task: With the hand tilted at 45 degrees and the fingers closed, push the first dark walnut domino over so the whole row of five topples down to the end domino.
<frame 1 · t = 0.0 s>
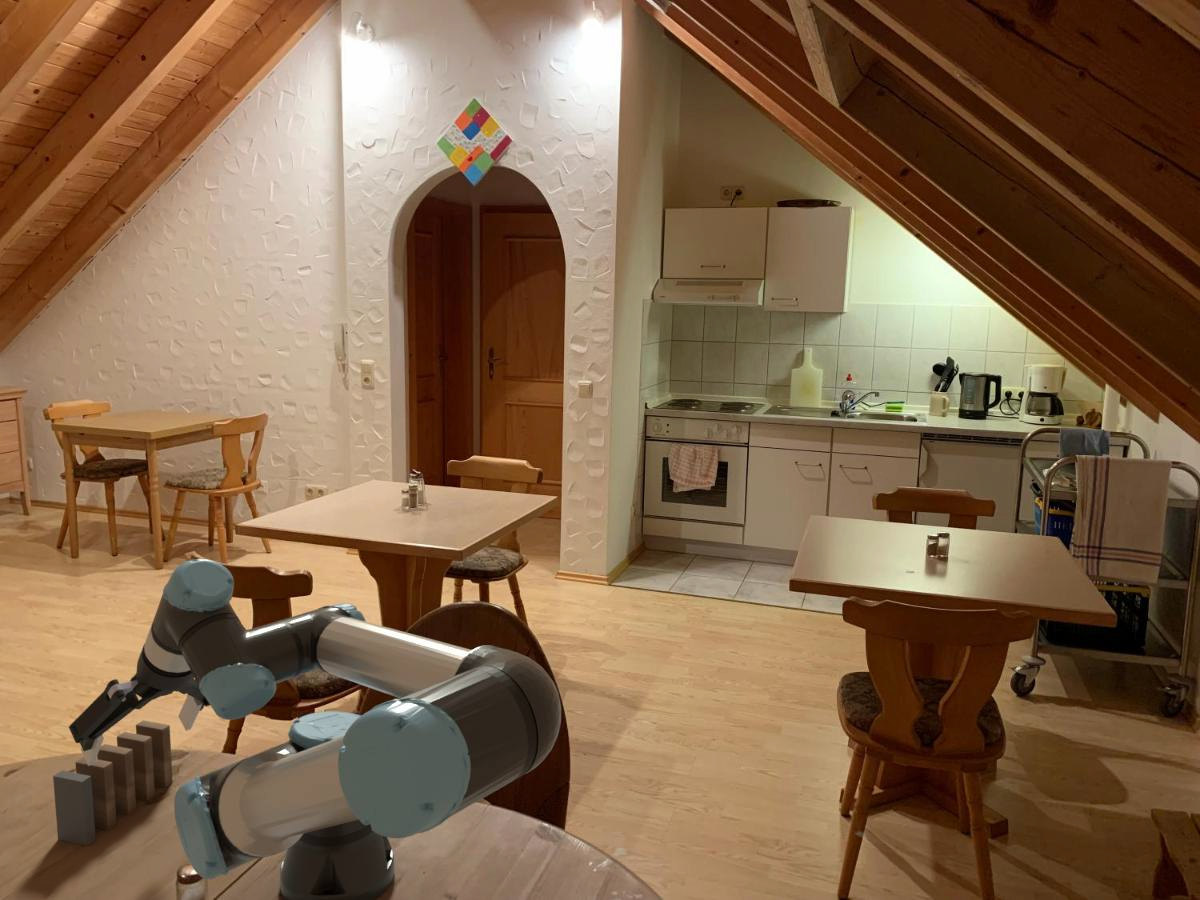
hand: (137, 739, 130), 15 cm above the table, tool tilted 35°, fingers open, 13 cm apart
domino 2: (137, 795, 142), on the table
domino 3: (118, 809, 139), on the table
domino 1: (155, 782, 146), on the table
domino 5: (76, 839, 131), on the table
domino 4: (98, 823, 135), on the table
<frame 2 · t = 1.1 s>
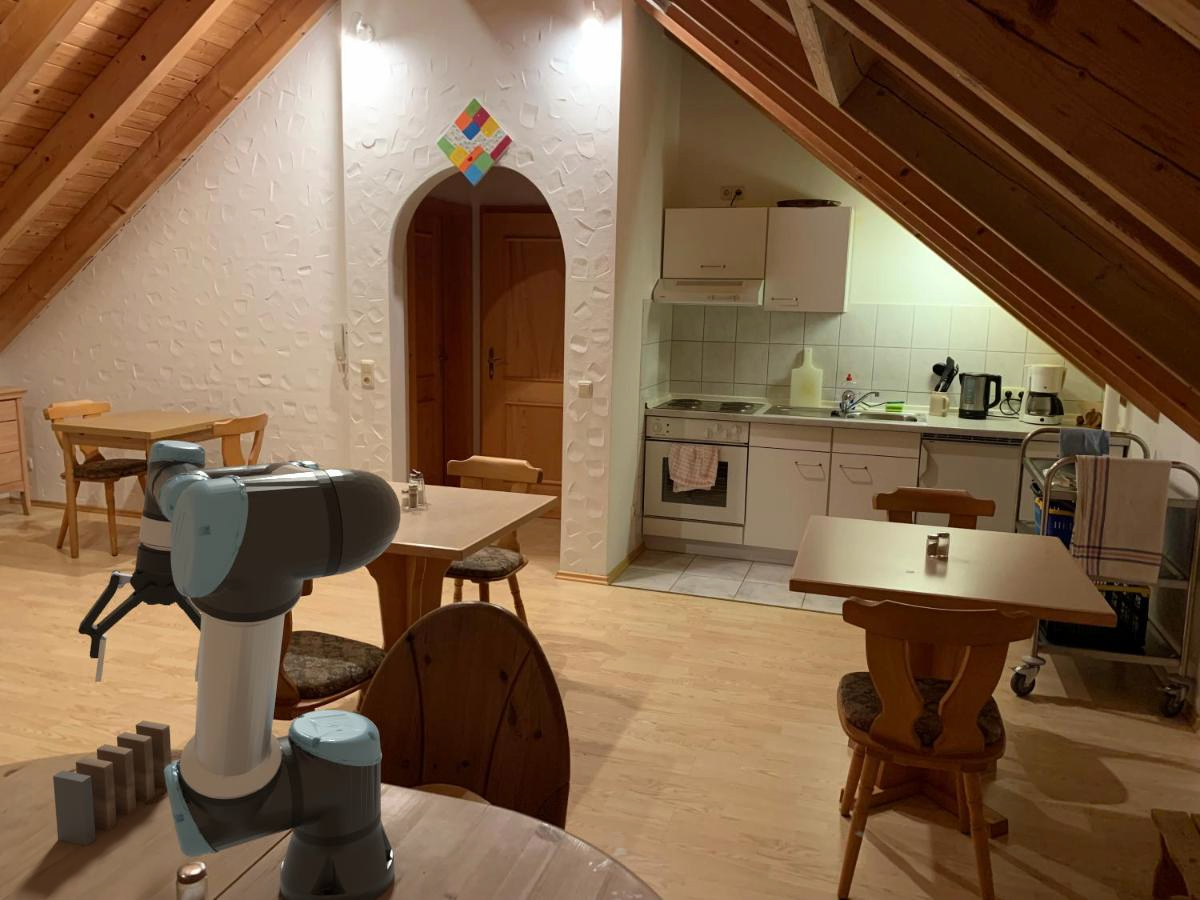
hand: (149, 678, 138), 20 cm above the table, tool pointing down, fingers open, 13 cm apart
nothing on the table moved.
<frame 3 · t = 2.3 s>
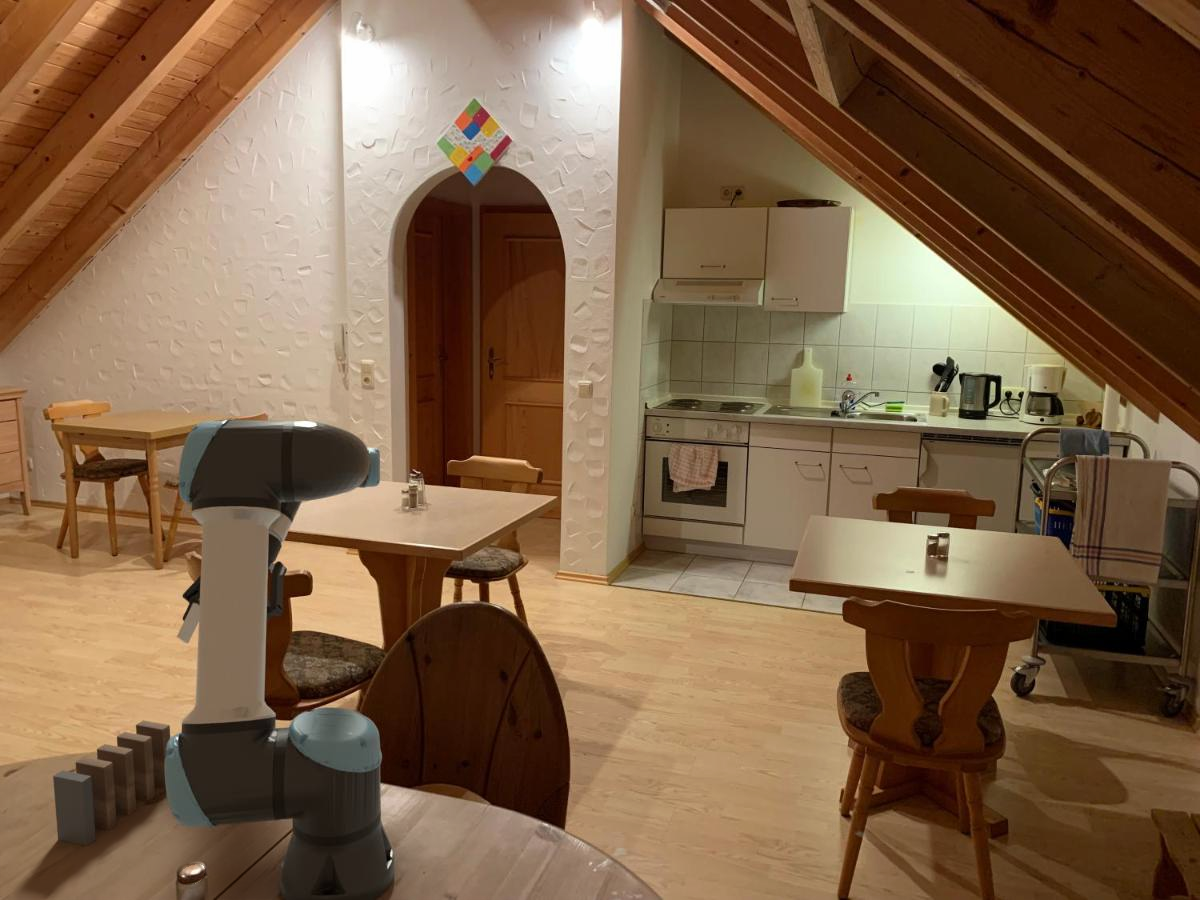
hand: (213, 644, 158), 18 cm above the table, tool tilted 45°, fingers open, 12 cm apart
nothing on the table moved.
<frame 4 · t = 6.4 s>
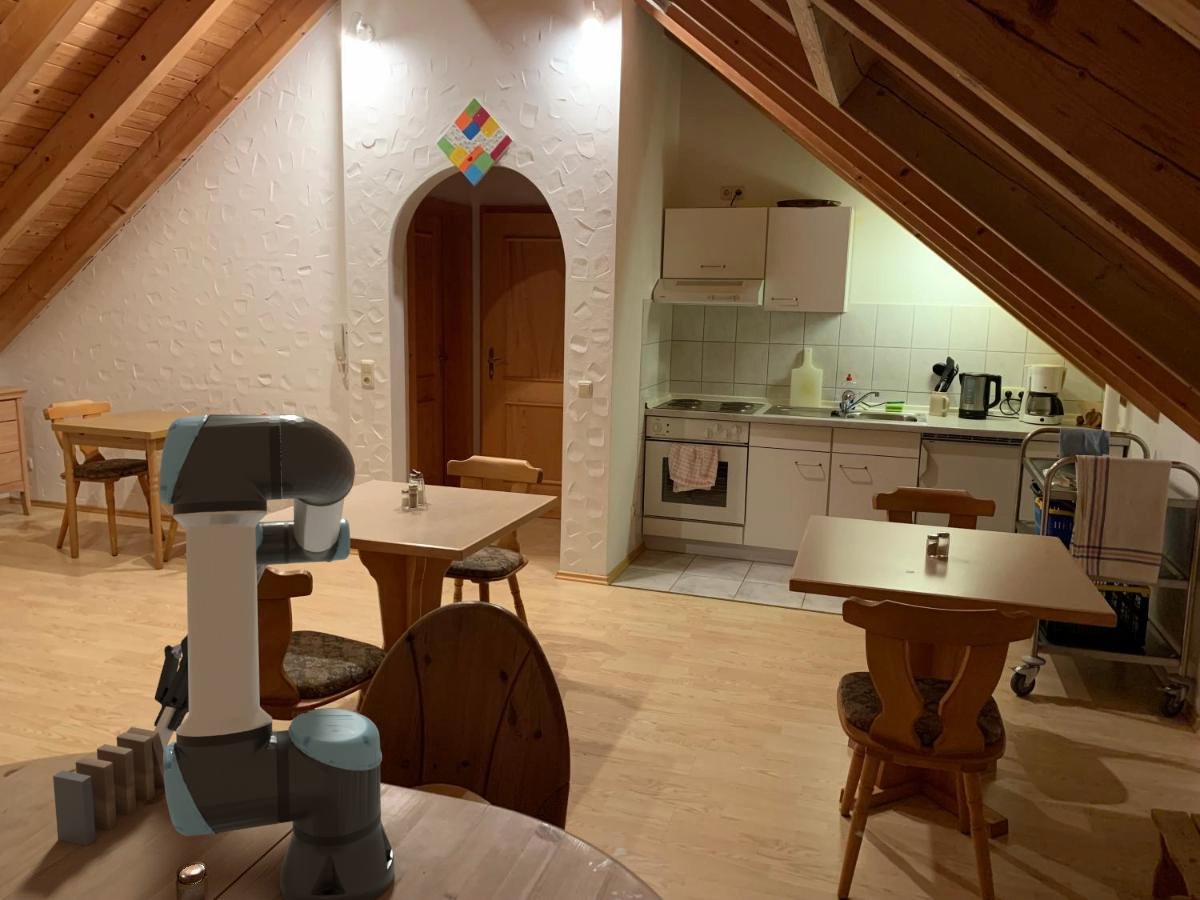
hand: (155, 748, 146), 5 cm above the table, tool tilted 45°, fingers closed
domino 1: (155, 781, 146), on the table, tilted 14°
everything else where it was.
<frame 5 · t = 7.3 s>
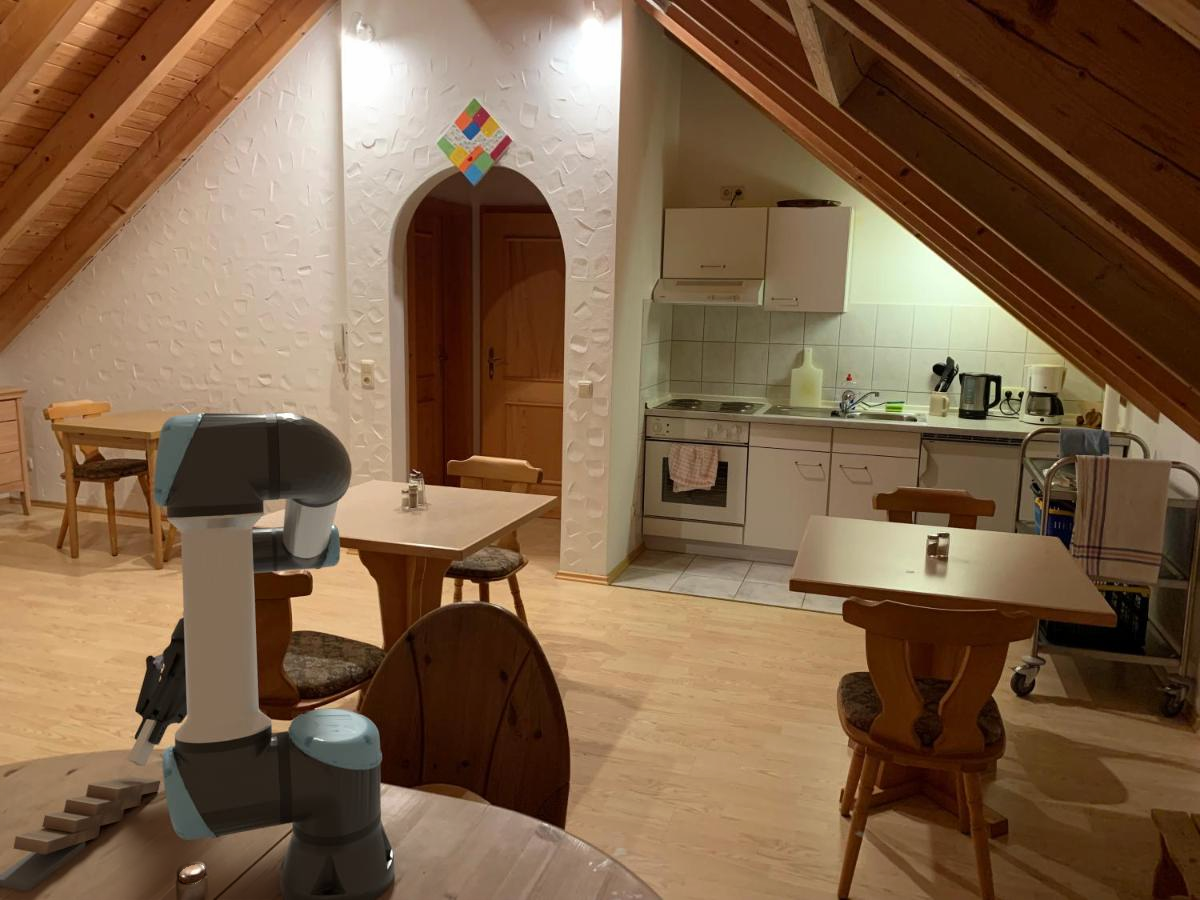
hand: (135, 763, 141), 5 cm above the table, tool tilted 45°, fingers closed
domino 2: (126, 797, 140), point 1 cm above the table, tilted 67°, touching domino 1, domino 3
domino 3: (108, 812, 137), point 1 cm above the table, tilted 68°, touching domino 2, domino 4
domino 1: (145, 783, 144), point 1 cm above the table, tilted 67°, touching domino 2
domino 5: (70, 843, 130), on the table, tilted 90°, touching domino 4
domino 4: (84, 828, 132), point 1 cm above the table, tilted 70°, touching domino 3, domino 5
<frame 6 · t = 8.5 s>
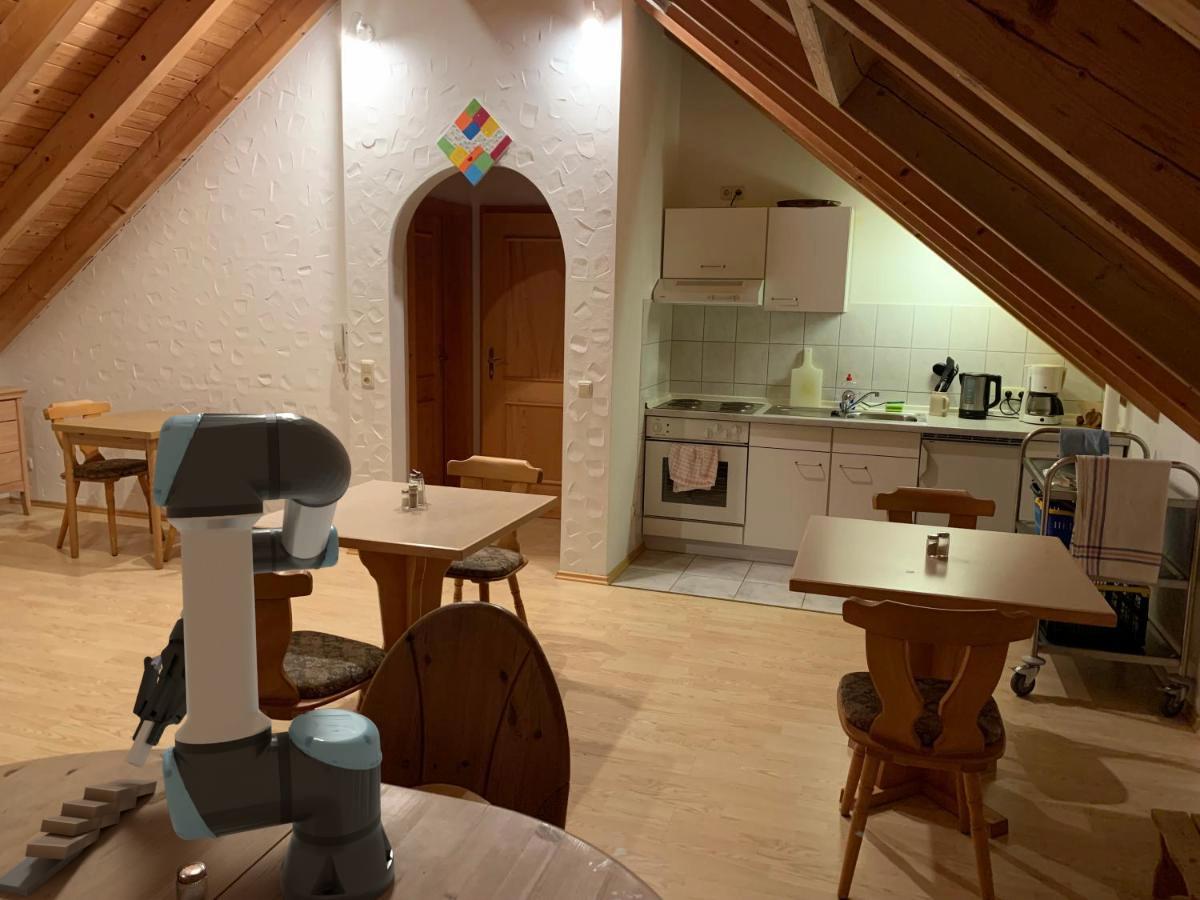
hand: (133, 764, 141), 6 cm above the table, tool tilted 45°, fingers closed
domino 2: (121, 799, 140), point 1 cm above the table, tilted 67°, touching domino 3
domino 1: (141, 784, 144), point 1 cm above the table, tilted 68°
domino 4: (81, 832, 131), point 1 cm above the table, tilted 70°, touching domino 3, domino 5
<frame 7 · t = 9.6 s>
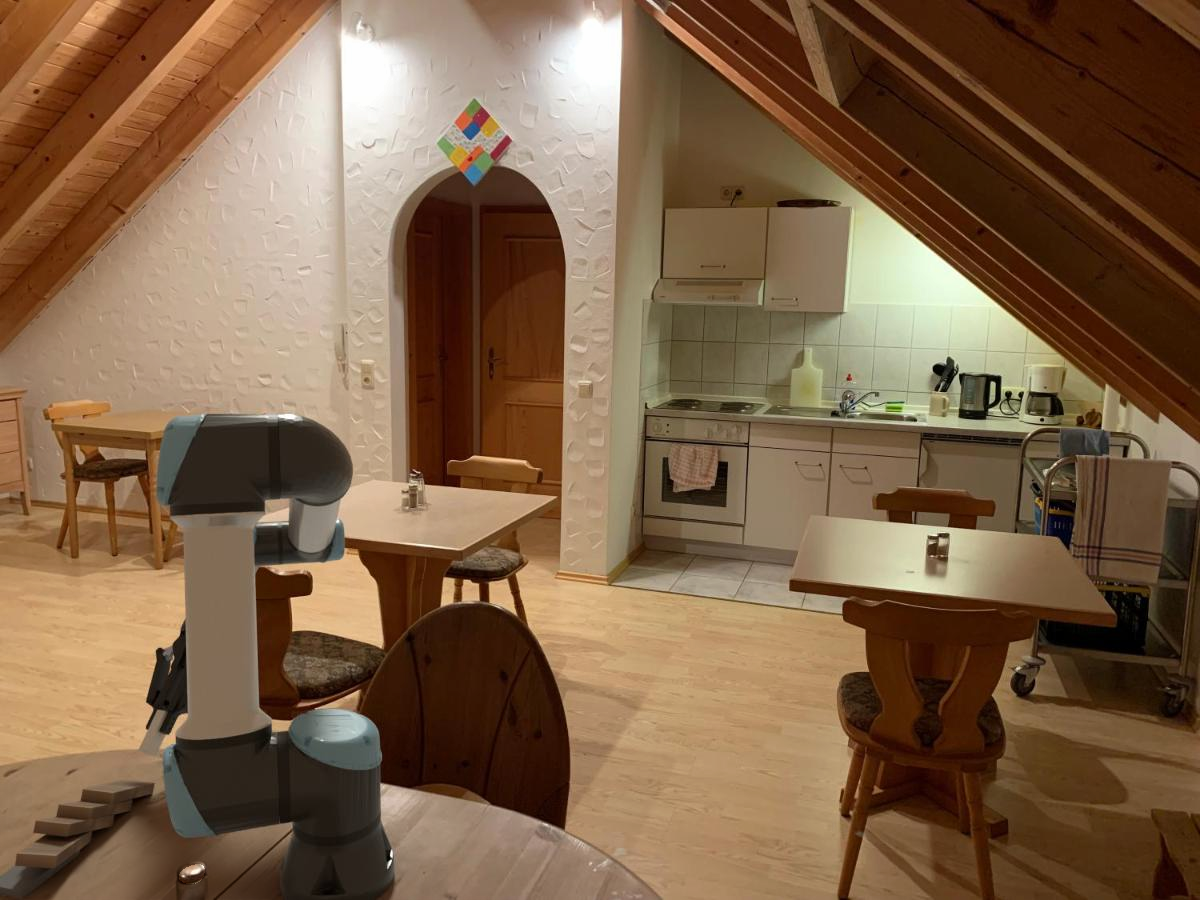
hand: (147, 752, 144), 6 cm above the table, tool tilted 45°, fingers closed
domino 2: (116, 803, 139), point 1 cm above the table, tilted 65°, touching domino 1, domino 3
domino 3: (97, 818, 134), point 1 cm above the table, tilted 65°, touching domino 2, domino 4
domino 1: (139, 786, 144), point 1 cm above the table, tilted 68°, touching domino 2
domino 4: (73, 834, 129), point 2 cm above the table, tilted 75°, touching domino 3, domino 5
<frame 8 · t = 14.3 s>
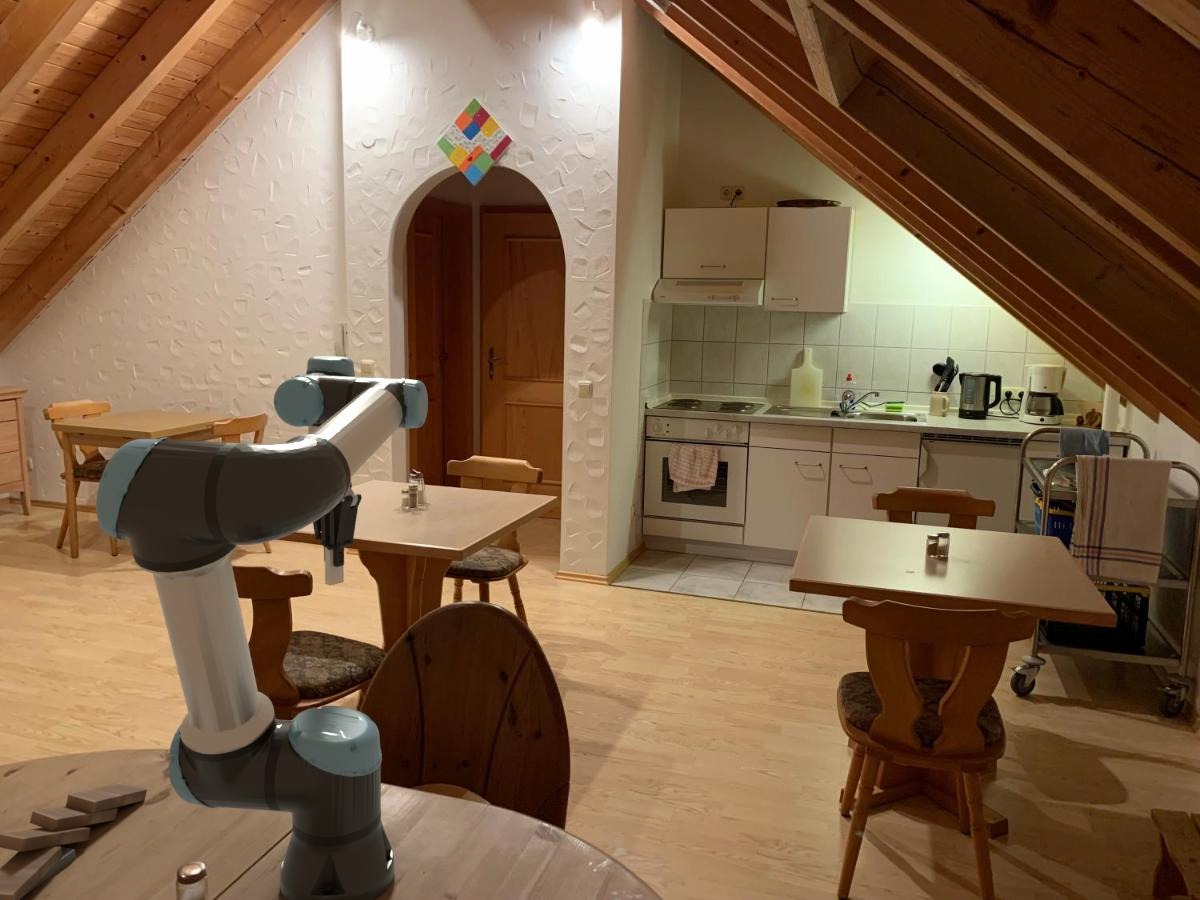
hand: (334, 582, 156), 29 cm above the table, tool pointing down, fingers closed
domino 2: (105, 810, 137), point 1 cm above the table, tilted 70°, touching domino 1, domino 3
domino 3: (77, 831, 131), point 1 cm above the table, tilted 68°, touching domino 2, domino 4
domino 1: (133, 791, 142), point 1 cm above the table, tilted 71°, touching domino 2
domino 5: (61, 851, 127), on the table, tilted 90°
domino 4: (43, 851, 125), point 2 cm above the table, tilted 90°, touching domino 3
at the end: domino 5 tilted 90°; domino 1 tilted 71°; domino 3 tilted 68° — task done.
